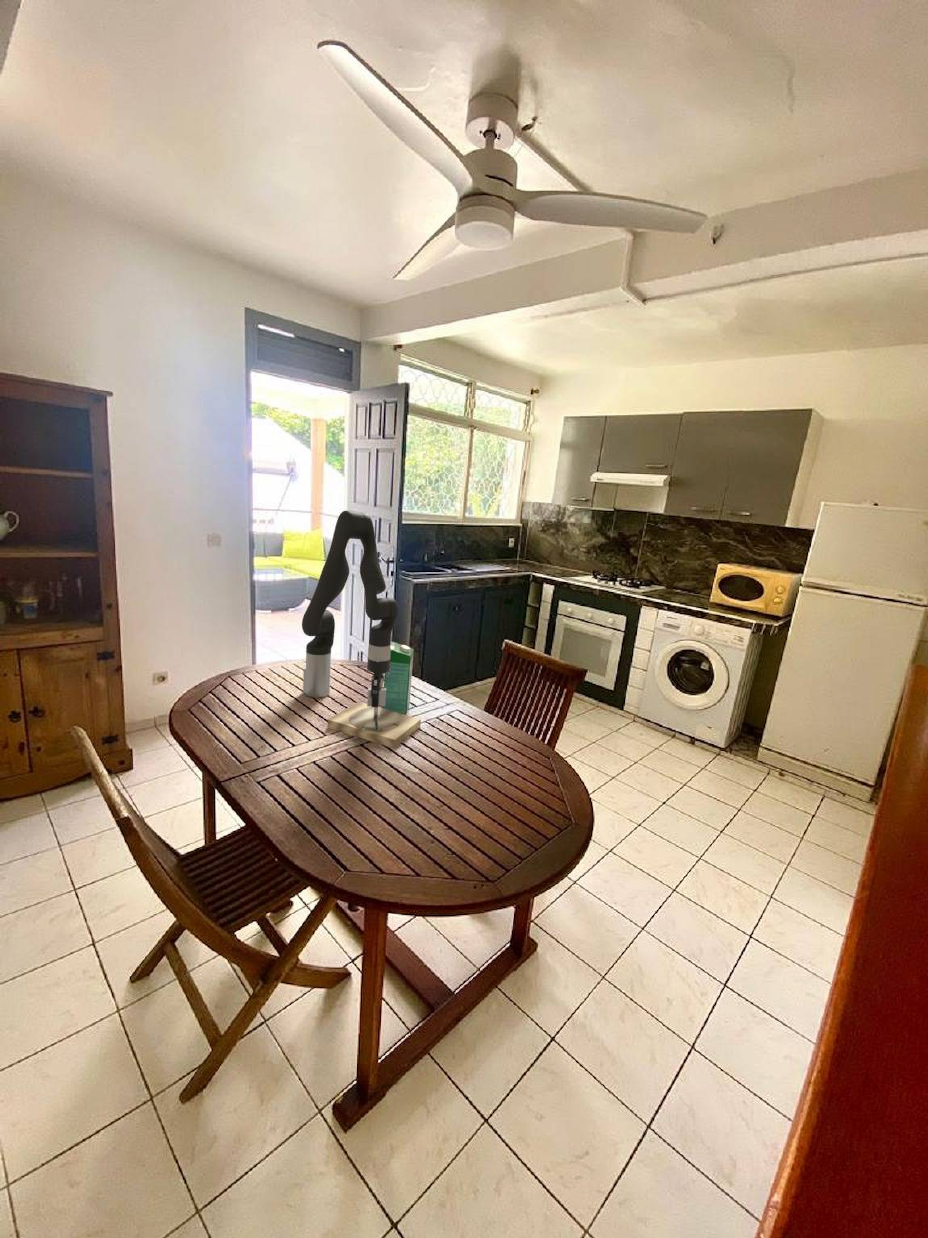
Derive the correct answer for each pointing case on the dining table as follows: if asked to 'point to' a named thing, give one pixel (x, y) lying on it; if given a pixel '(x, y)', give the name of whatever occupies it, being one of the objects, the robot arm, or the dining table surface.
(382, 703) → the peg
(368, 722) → the dial board
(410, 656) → the milk carton
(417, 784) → the dining table surface
